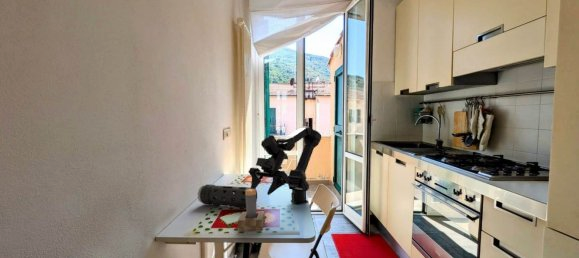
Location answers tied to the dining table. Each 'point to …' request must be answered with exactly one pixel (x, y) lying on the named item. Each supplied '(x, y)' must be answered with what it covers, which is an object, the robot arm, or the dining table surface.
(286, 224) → the dining table surface
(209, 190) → the muzzle brake
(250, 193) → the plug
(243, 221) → the socket block
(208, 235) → the dining table surface
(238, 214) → the mat
